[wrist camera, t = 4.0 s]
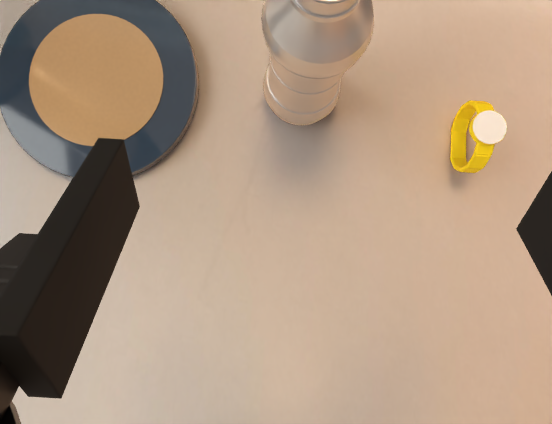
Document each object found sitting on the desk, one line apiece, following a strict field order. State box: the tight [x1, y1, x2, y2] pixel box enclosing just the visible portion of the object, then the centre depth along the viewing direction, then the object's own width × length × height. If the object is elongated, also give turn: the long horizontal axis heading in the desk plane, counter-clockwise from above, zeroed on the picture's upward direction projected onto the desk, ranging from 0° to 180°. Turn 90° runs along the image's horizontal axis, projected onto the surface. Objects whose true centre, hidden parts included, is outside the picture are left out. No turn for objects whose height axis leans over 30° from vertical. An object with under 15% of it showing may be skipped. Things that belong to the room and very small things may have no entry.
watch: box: [450, 101, 507, 173], centre depth 36 cm, size 6×3×6 cm, turn 176°
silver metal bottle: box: [261, 0, 374, 125], centre depth 29 cm, size 6×7×20 cm
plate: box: [0, 0, 199, 177], centre depth 38 cm, size 18×18×1 cm
